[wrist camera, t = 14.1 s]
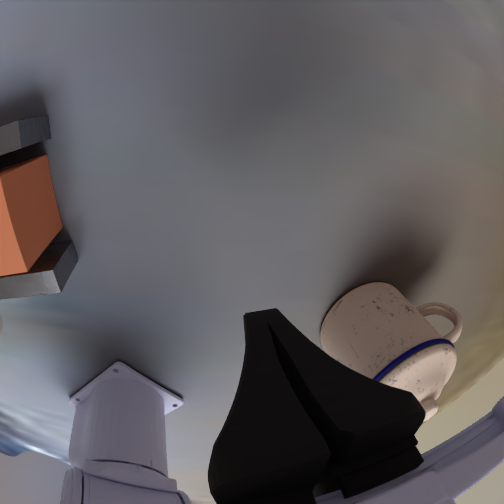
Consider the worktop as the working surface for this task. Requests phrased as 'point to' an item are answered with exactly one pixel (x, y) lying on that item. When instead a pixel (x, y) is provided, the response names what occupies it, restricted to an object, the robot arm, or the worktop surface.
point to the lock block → (26, 214)
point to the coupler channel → (55, 255)
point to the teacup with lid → (392, 341)
